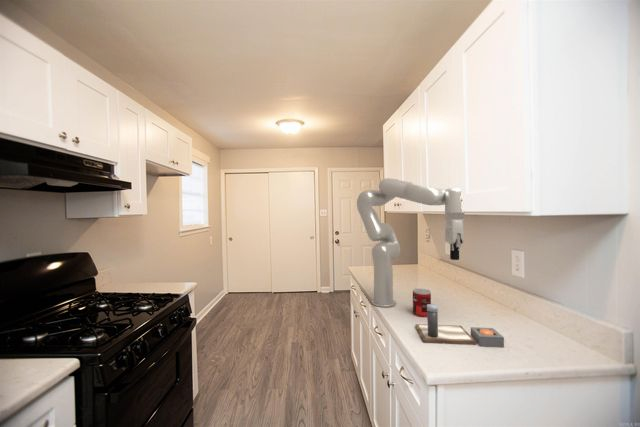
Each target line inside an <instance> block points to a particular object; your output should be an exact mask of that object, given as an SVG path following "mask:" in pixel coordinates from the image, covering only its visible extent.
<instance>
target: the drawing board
mask: <svg viewBox="0 0 640 427" xmlns="http://www.w3.org/2000/svg"><path fill="white" fill-rule="evenodd" d="M414 326H415V329H416V330H417V333H418V334H419V337H420V339H421V340H422V342H423V343H424V344H425V343H427V344H443V343H445V345H447V344H448V345H450V344H452V345H468V346H469V345H471V346H472V345H473V346H476V344H477V343H476V341H475V340H474V339H473V338H472V337H471V334H469V333H468V331H466V329H465V328H464V327H463V326H462V325H454V324H453V325H452V324H451V325H450V324H448V325H447V324H438V337H431V336H429V335H428V324H426V323H424V324H423V323H422V324H421V323H418V324H417V323H416V324H415V325H414Z"/></svg>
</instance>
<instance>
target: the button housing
mask: <svg viewBox="0 0 640 427" xmlns="http://www.w3.org/2000/svg"><path fill="white" fill-rule="evenodd" d="M480 329H489V330H491V331H493V332H494V335H482V334H481V333H480ZM470 336H471V337H472V338H473V339H474V340H475V341H476V344H478V346H479V347H489V348H494V347H495V348H505V337H504V336H503V335H502V334H501V333H499V331H497V330H496V329H495V328H494V327H477V326H476V327H473V326H472V327H470Z"/></svg>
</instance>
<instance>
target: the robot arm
mask: <svg viewBox="0 0 640 427" xmlns="http://www.w3.org/2000/svg"><path fill="white" fill-rule="evenodd" d="M460 188H461V187H450V188H446V189H445V188H443V189H442V188H433V187H427V186H421V185H418V184H414V183H413V182H411V181H405V180H400V179H397V178H390V177H389V178H388V177H387V178H386V177H385V178H383V179H381V181H380V182H379V185H378V189H379V190H376V189H375V190H373V189H367V190H363V191H361V192H360V193H359V195H358V197H357V199H356V208H357V211H358V213H359V215H360V218H361V220H362V223H363V226H364V229H365V231H366V234H367V236H368V239H369V240H370V241H372V242H378V243H377V244H375V245H374V246H372V250H371V257H372V263H373V298H372V299H371V301H370V303H371V304H372V305H373V306H376V307H380V308H391V307H394V306H396V305H397V302H396V300H395V299H394V287H393V286H394V285H393V284H394V283H393V282H394V281H393V279H394V277H393V276H394V274H393V265H392V262H391V260H395V259H397V258H398V257H399V256H400V254H401V245H400V243H399V240H398V238H397V235H396V233H395V231H394V229H393V227H392V226H391V224H389V223H387V222H381V220H380V218H379V216H378V213H377V212H376V210H375V209H374V207H382V206H385V205H386V204H388V203H389V202H390V201H392V200H394V199H395V198H399V199H403V200H406V201H410V202H412V203H414V202H415V203H417V204H422V205H426V206H444V221H445V226H444V227H445V228H444V241H445V243H447V244H449V259H450V260H451V261H458V260H460V248H461V247H462V246H461V245H462V244H463V243H464V241H465V240H464V238H465V237H464V234H465V233H464V221H465V212H464V213H461V212H462V209H461V202H460V196H461V190H460Z"/></svg>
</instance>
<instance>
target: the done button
mask: <svg viewBox="0 0 640 427" xmlns="http://www.w3.org/2000/svg"><path fill="white" fill-rule="evenodd" d="M480 333H481V334H482V335H494V332H493V331H491V330H489V329H480Z"/></svg>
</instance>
